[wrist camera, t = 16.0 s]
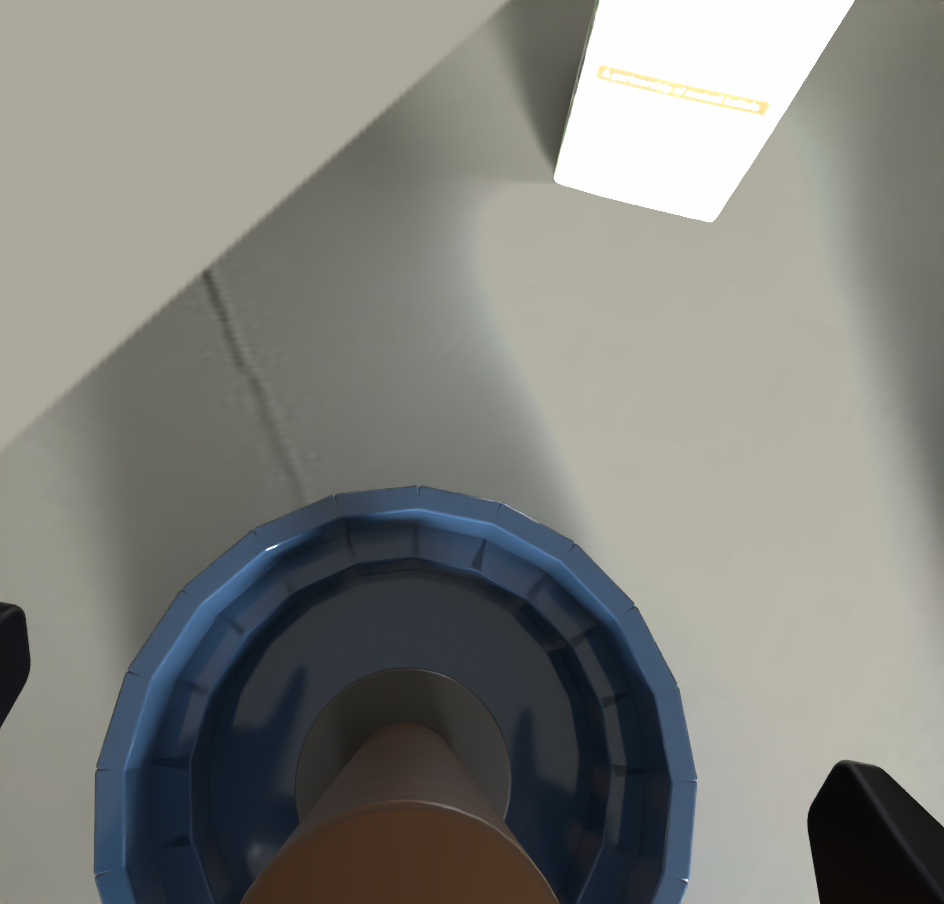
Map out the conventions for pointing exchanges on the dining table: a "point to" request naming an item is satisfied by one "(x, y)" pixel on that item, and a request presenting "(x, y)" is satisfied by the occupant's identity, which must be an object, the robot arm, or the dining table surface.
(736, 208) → the dining table surface
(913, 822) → the robot arm
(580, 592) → the bowl
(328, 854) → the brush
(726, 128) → the syrup box
